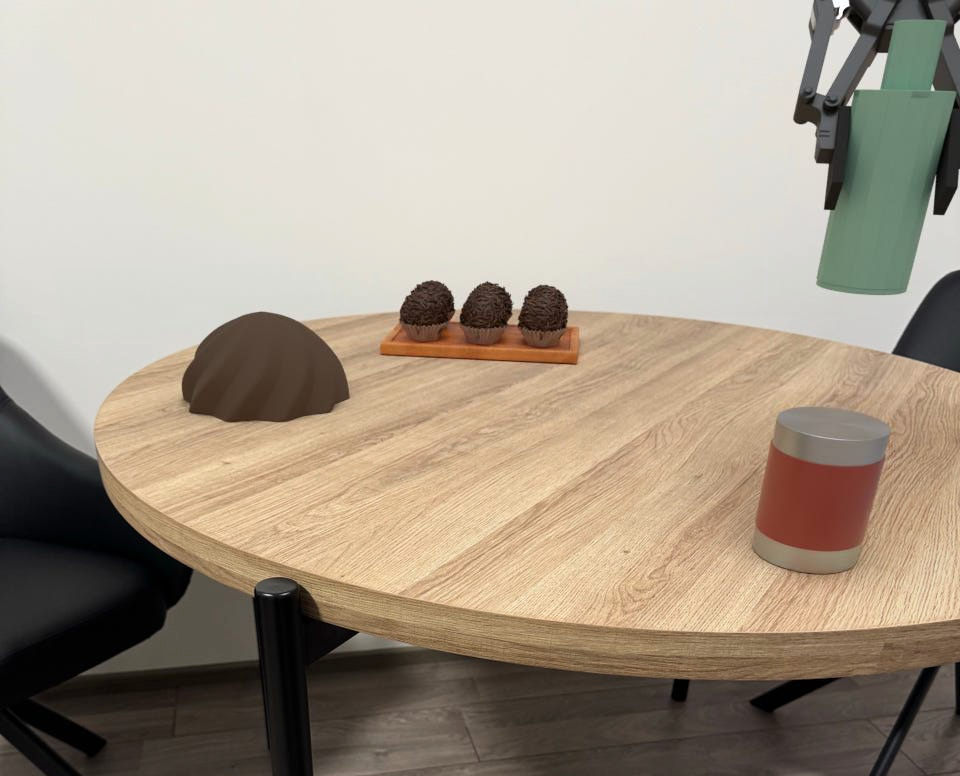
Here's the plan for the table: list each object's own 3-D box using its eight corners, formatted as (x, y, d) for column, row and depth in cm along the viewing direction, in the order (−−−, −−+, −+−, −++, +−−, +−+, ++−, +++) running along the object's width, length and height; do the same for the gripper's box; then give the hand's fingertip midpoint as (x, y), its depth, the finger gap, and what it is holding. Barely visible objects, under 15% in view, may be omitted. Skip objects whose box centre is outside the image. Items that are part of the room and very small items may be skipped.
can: (840, 532, 79) (871, 408, 73) (872, 577, 72) (909, 442, 66) (741, 528, 79) (764, 404, 74) (762, 572, 72) (790, 438, 66)
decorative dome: (328, 371, 121) (323, 292, 116) (364, 414, 105) (360, 325, 100) (178, 381, 115) (165, 299, 110) (191, 429, 99) (178, 335, 94)
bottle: (889, 281, 73) (951, 25, 64) (919, 296, 67) (991, 19, 58) (806, 278, 73) (856, 23, 64) (828, 293, 67) (887, 16, 58)
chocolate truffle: (578, 337, 141) (583, 280, 136) (577, 364, 127) (581, 301, 122) (401, 329, 143) (400, 273, 139) (380, 355, 129) (378, 292, 125)
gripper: (1031, -11, 71) (1017, 242, 65) (770, -11, 74) (738, 228, 69) (1077, -111, 63) (1066, 164, 58) (786, -107, 67) (752, 153, 62)
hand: (888, 198), depth 64 cm, fingers closed on bottle, 7 cm apart
